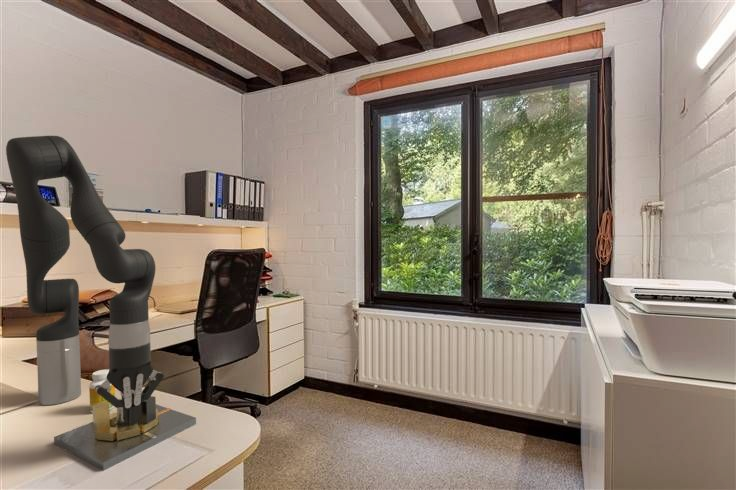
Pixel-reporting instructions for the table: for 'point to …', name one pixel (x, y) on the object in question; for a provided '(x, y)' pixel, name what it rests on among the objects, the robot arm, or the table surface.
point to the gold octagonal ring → (145, 422)
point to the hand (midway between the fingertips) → (131, 422)
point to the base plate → (117, 451)
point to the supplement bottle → (94, 396)
